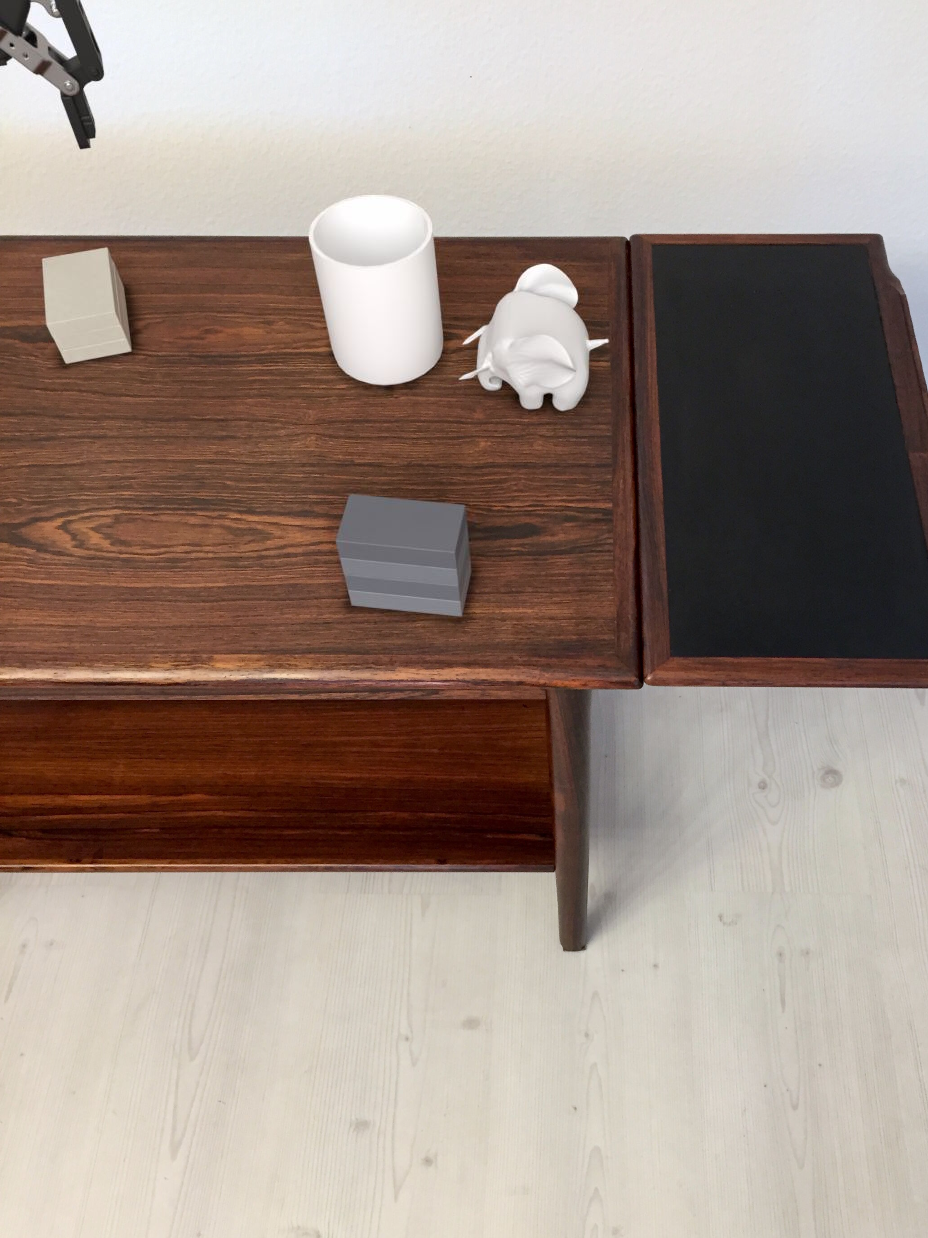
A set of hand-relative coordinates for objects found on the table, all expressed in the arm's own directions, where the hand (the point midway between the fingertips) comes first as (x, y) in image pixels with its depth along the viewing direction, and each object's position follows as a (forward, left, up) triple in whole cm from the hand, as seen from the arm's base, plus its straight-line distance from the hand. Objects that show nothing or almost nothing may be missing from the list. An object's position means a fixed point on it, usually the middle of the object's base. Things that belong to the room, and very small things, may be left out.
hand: (20, 153), depth 72 cm
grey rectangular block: (+29, -19, -20) cm, 40 cm away
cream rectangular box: (-4, +6, -20) cm, 21 cm away
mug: (+22, +7, -20) cm, 30 cm away
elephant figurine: (+35, +3, -20) cm, 40 cm away
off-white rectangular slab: (-4, +6, -17) cm, 19 cm away
